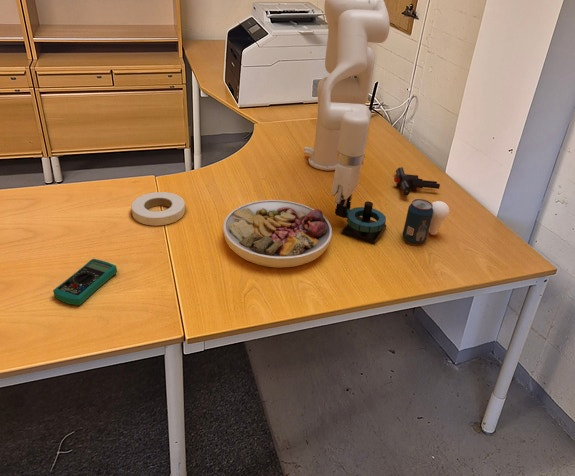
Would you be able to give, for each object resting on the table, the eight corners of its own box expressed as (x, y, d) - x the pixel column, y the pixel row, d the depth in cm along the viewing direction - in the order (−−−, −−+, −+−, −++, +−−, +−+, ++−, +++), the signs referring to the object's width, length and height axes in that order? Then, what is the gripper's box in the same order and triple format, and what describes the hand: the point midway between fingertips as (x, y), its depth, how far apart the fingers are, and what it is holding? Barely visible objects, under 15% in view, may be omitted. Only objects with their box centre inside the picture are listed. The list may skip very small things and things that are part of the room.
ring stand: (341, 233, 151) (346, 205, 146) (354, 219, 159) (359, 191, 154) (374, 244, 148) (379, 216, 142) (385, 228, 155) (391, 201, 150)
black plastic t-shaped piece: (435, 167, 184) (393, 163, 185) (445, 187, 167) (398, 182, 168) (432, 181, 186) (390, 177, 187) (441, 202, 169) (395, 197, 170)
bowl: (249, 285, 129) (250, 259, 124) (207, 225, 150) (207, 201, 146) (350, 258, 141) (354, 234, 137) (298, 206, 163) (300, 184, 158)
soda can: (410, 230, 155) (418, 195, 149) (430, 240, 151) (439, 205, 145) (397, 238, 151) (404, 202, 144) (417, 249, 147) (426, 212, 140)
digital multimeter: (52, 299, 120) (49, 289, 118) (94, 265, 131) (92, 255, 130) (78, 308, 118) (76, 299, 116) (118, 273, 129) (117, 263, 128)
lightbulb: (443, 231, 156) (452, 199, 150) (441, 242, 151) (450, 209, 145) (423, 227, 157) (431, 195, 151) (420, 237, 152) (428, 204, 146)
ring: (390, 219, 154) (391, 213, 152) (377, 236, 145) (378, 230, 144) (343, 205, 159) (344, 199, 158) (328, 221, 150) (329, 215, 149)
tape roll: (121, 216, 151) (119, 208, 150) (154, 195, 163) (153, 187, 161) (164, 231, 146) (163, 223, 144) (195, 208, 158) (195, 200, 156)
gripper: (348, 144, 151) (341, 200, 161) (326, 163, 139) (319, 222, 149) (372, 151, 148) (363, 206, 159) (352, 171, 136) (343, 230, 147)
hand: (342, 213), depth 154 cm, fingers closed on ring, 2 cm apart
